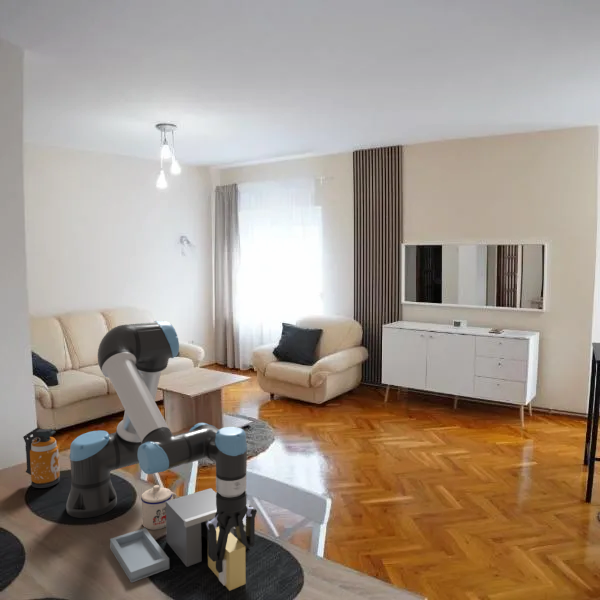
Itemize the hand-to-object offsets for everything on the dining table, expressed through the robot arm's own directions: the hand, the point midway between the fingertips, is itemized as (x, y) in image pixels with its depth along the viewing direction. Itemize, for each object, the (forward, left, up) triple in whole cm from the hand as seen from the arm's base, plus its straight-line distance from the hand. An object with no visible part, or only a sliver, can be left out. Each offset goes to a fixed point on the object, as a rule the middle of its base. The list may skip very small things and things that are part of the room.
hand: (231, 578), depth 133 cm
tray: (-23, -16, -1) cm, 28 cm away
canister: (-85, -29, -1) cm, 90 cm away
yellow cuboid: (-3, 0, -1) cm, 3 cm away
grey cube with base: (-19, 0, -1) cm, 19 cm away
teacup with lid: (-38, -4, -1) cm, 38 cm away
